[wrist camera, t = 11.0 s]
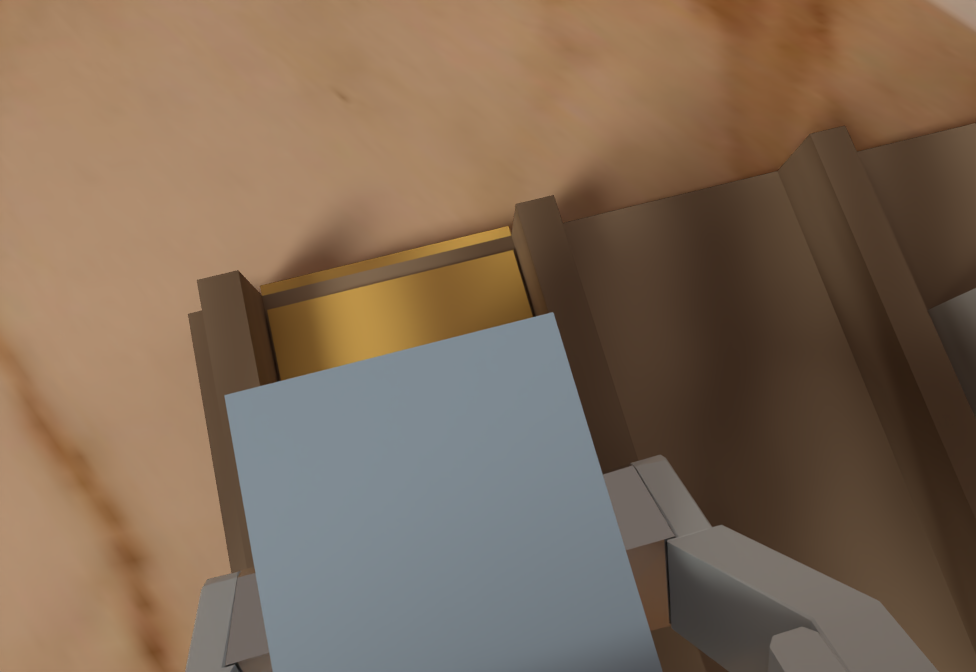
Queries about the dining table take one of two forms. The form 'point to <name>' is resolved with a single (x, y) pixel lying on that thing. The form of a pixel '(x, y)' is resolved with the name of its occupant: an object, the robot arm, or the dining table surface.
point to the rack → (709, 357)
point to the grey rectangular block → (437, 514)
